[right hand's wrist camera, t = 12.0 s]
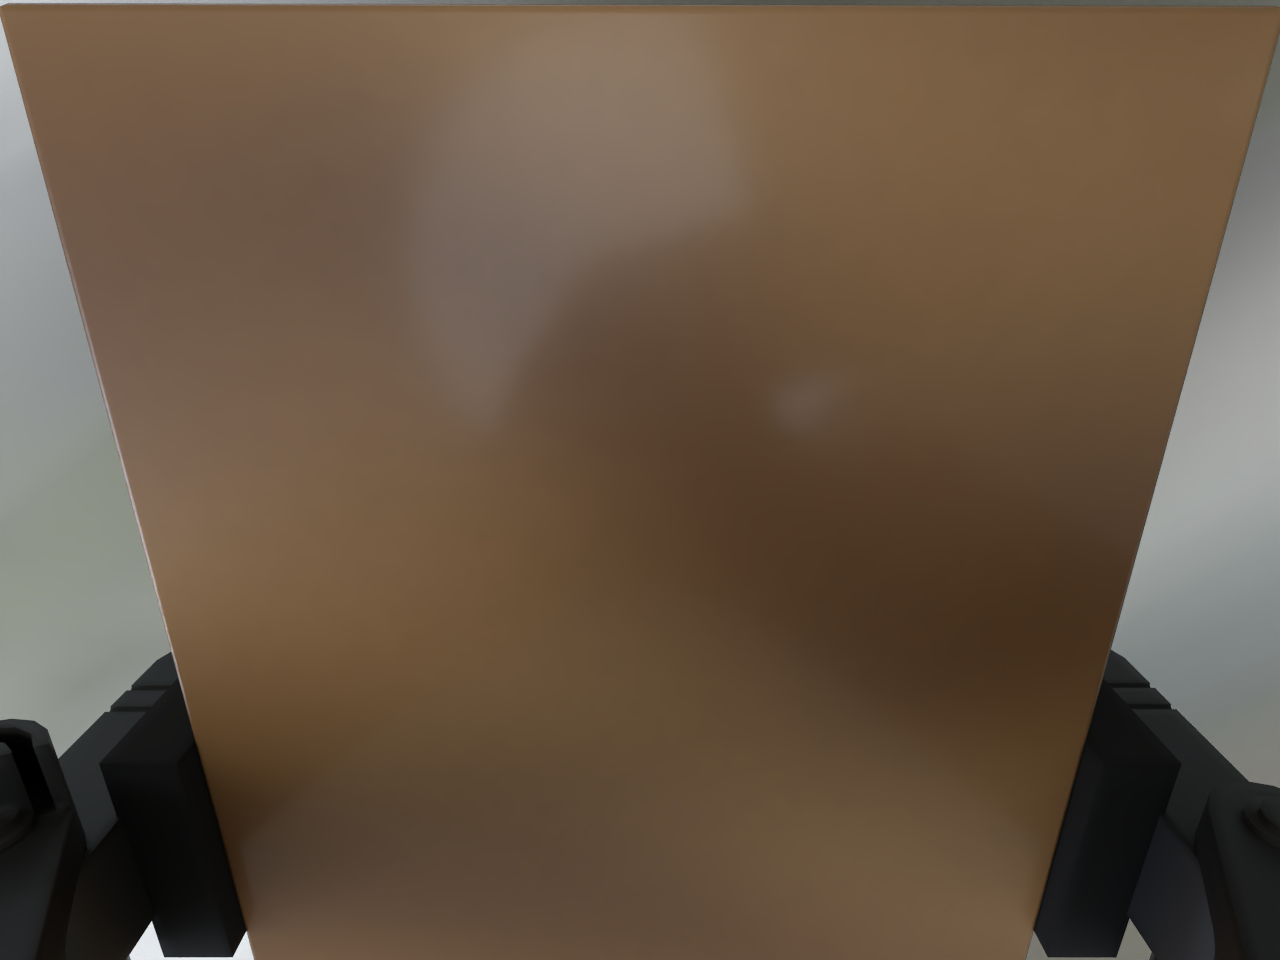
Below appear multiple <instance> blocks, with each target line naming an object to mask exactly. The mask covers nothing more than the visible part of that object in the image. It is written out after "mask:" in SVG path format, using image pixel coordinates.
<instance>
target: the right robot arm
mask: <svg viewBox="0 0 1280 960" xmlns="http://www.w3.org/2000/svg"><path fill="white" fill-rule="evenodd" d="M1129 918H1130V919H1131V921H1132V922H1133V924H1134V925H1135V927H1136V928H1137V930H1138V931H1139V933H1140V934H1141V936H1142V937H1143V939H1144V940H1145V942H1146V943H1147V945H1148V946H1149V948H1150V949H1151V951H1152V954H1151V956H1150V959H1149V960H1280V788H1278V787H1275V786H1271V785H1265V784H1259V783H1253V782H1249V781H1248V780H1247V779H1246V778H1245V777H1244V776H1243V775H1242V774H1241V773H1240V772H1239V771H1238V770H1237V769H1236V768H1235V767H1234V766H1233V765H1232V764H1231V763H1230V762H1229V761H1228V760H1227V759H1226V758H1225V757H1224V756H1223V755H1222V754H1221V753H1220V752H1219V751H1218V750H1217V749H1216V748H1215V747H1214V746H1213V745H1212V744H1211V743H1210V742H1209V741H1208V740H1207V739H1206V738H1205V737H1204V736H1203V735H1202V734H1201V733H1200V732H1199V731H1198V730H1197V729H1196V728H1195V727H1193V726H1192V725H1191V724H1190V723H1189V722H1188V721H1187V720H1186V719H1185V718H1184V717H1183V716H1182V715H1181V714H1180V713H1179V712H1178V711H1177V710H1176V709H1171V704H1170V703H1169V702H1168V701H1167V700H1166V699H1165V698H1164V697H1163V696H1162V695H1161V694H1160V693H1159V692H1158V691H1157V690H1156V689H1155V688H1150V683H1149V682H1148V681H1147V680H1146V679H1145V678H1144V677H1143V676H1142V675H1141V674H1140V673H1139V672H1138V671H1137V670H1136V669H1135V668H1134V667H1133V666H1132V665H1131V664H1130V663H1129V662H1128V661H1127V660H1126V659H1125V658H1124V657H1122V656H1120V655H1119V654H1117V653H1115V652H1114V651H1112V650H1110V654H1109V657H1108V661H1107V665H1106V668H1105V672H1104V676H1103V679H1102V683H1101V686H1100V690H1099V694H1098V697H1097V701H1096V705H1095V708H1094V712H1093V716H1092V719H1091V723H1090V727H1089V730H1088V734H1087V738H1086V741H1085V745H1084V748H1083V752H1082V756H1081V759H1080V763H1079V767H1078V770H1077V774H1076V778H1075V781H1074V785H1073V789H1072V792H1071V796H1070V800H1069V803H1068V807H1067V810H1066V814H1065V818H1064V821H1063V825H1062V829H1061V832H1060V836H1059V840H1058V843H1057V847H1056V851H1055V854H1054V858H1053V862H1052V865H1051V869H1050V873H1049V876H1048V880H1047V883H1046V887H1045V891H1044V894H1043V898H1042V902H1041V905H1040V909H1039V913H1038V916H1037V920H1036V924H1035V927H1034V931H1035V933H1036V935H1037V937H1038V939H1039V941H1040V943H1041V945H1042V947H1043V949H1044V951H1045V953H1046V954H1047V956H1048V957H1117V954H1118V951H1119V948H1120V945H1121V942H1122V939H1123V936H1124V933H1125V930H1126V927H1127V924H1128V921H1129ZM151 921H152V922H153V925H154V928H155V931H156V934H157V937H158V940H159V943H160V946H161V949H162V952H163V955H164V957H233V955H234V953H235V952H236V950H237V948H238V946H239V944H240V942H241V940H242V938H243V936H244V934H245V932H246V927H245V923H244V920H243V916H242V912H241V909H240V905H239V901H238V897H237V894H236V890H235V886H234V883H233V879H232V875H231V871H230V868H229V864H228V860H227V857H226V853H225V849H224V845H223V842H222V838H221V834H220V831H219V827H218V823H217V819H216V816H215V812H214V808H213V805H212V801H211V797H210V793H209V790H208V786H207V782H206V779H205V775H204V771H203V767H202V764H201V760H200V756H199V753H198V749H197V745H196V741H195V738H194V734H193V730H192V727H191V723H190V719H189V715H188V712H187V708H186V704H185V701H184V697H183V693H182V689H181V686H180V682H179V678H178V675H177V671H176V667H175V663H174V660H173V656H172V652H170V653H168V654H167V655H165V656H163V657H162V658H160V659H158V660H157V661H156V662H155V663H154V664H153V665H152V666H151V667H150V668H149V669H148V670H147V671H146V672H145V673H144V674H143V675H142V676H141V677H140V678H139V679H138V680H137V681H136V682H135V683H134V684H133V685H132V689H131V691H126V692H125V693H124V694H123V695H122V696H121V697H120V698H119V699H118V700H117V701H116V702H115V703H114V704H113V705H112V706H111V710H110V712H105V713H104V714H103V715H102V716H101V717H100V718H99V719H98V720H97V721H96V722H95V723H94V724H93V725H92V726H91V727H90V728H89V729H88V730H87V731H86V732H85V733H84V734H83V735H82V736H81V737H80V738H79V739H78V740H77V741H76V742H75V743H74V744H73V745H72V746H71V747H70V748H69V749H68V750H67V751H66V752H65V753H64V754H63V755H62V756H61V757H60V758H59V759H58V758H57V755H56V752H55V749H54V747H53V744H52V741H51V738H50V736H49V733H48V730H47V729H46V728H44V727H43V726H41V725H40V724H38V723H37V722H35V721H30V720H19V719H7V720H1V721H0V960H131V959H130V956H129V954H130V953H131V951H132V950H133V948H134V947H135V945H136V944H137V942H138V941H139V939H140V938H141V936H142V935H143V933H144V932H145V930H146V929H147V927H148V925H149V924H150V922H151Z"/></svg>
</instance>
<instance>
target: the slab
mask: <svg viewBox="0 0 1280 960" xmlns="http://www.w3.org/2000/svg"><path fill="white" fill-rule="evenodd" d="M0 17H1V20H2V24H3V28H4V32H5V35H6V39H7V43H8V46H9V50H10V54H11V58H12V61H13V65H14V69H15V72H16V76H17V80H18V84H19V87H20V91H21V95H22V98H23V102H24V106H25V110H26V113H27V117H28V121H29V124H30V128H31V132H32V136H33V139H34V143H35V147H36V150H37V154H38V158H39V162H40V165H41V169H42V173H43V177H44V180H45V184H46V188H47V191H48V195H49V199H50V203H51V206H52V210H53V214H54V217H55V221H56V225H57V229H58V232H59V236H60V240H61V243H62V247H63V251H64V255H65V258H66V262H67V266H68V269H69V273H70V277H71V281H72V284H73V288H74V292H75V295H76V299H77V303H78V307H79V310H80V314H81V318H82V321H83V325H84V329H85V333H86V336H87V340H88V344H89V347H90V351H91V355H92V359H93V362H94V366H95V370H96V373H97V377H98V381H99V385H100V388H101V392H102V396H103V399H104V403H105V407H106V411H107V414H108V418H109V422H110V426H111V429H112V433H113V437H114V440H115V444H116V448H117V452H118V455H119V459H120V463H121V466H122V470H123V474H124V478H125V481H126V485H127V489H128V492H129V496H130V500H131V504H132V507H133V511H134V515H135V518H136V522H137V526H138V530H139V533H140V537H141V541H142V544H143V548H144V552H145V556H146V559H147V563H148V567H149V570H150V574H151V578H152V582H153V585H154V589H155V593H156V596H157V600H158V604H159V608H160V611H161V615H162V619H163V622H164V626H165V630H166V634H167V637H168V641H169V645H170V648H171V652H172V656H173V660H174V663H175V667H176V671H177V675H178V678H179V682H180V686H181V689H182V693H183V697H184V701H185V704H186V708H187V712H188V715H189V719H190V723H191V727H192V730H193V734H194V738H195V741H196V745H197V749H198V753H199V756H200V760H201V764H202V767H203V771H204V775H205V779H206V782H207V786H208V790H209V793H210V797H211V801H212V805H213V808H214V812H215V816H216V819H217V823H218V827H219V831H220V834H221V838H222V842H223V845H224V849H225V853H226V857H227V860H228V864H229V868H230V871H231V875H232V879H233V883H234V886H235V890H236V894H237V897H238V901H239V905H240V909H241V912H242V916H243V920H244V923H245V927H246V931H247V935H248V938H249V942H250V946H251V950H252V953H253V957H254V960H1026V956H1027V953H1028V949H1029V945H1030V942H1031V938H1032V935H1033V931H1034V927H1035V924H1036V920H1037V916H1038V913H1039V909H1040V905H1041V902H1042V898H1043V894H1044V891H1045V887H1046V883H1047V880H1048V876H1049V873H1050V869H1051V865H1052V862H1053V858H1054V854H1055V851H1056V847H1057V843H1058V840H1059V836H1060V832H1061V829H1062V825H1063V821H1064V818H1065V814H1066V810H1067V807H1068V803H1069V800H1070V796H1071V792H1072V789H1073V785H1074V781H1075V778H1076V774H1077V770H1078V767H1079V763H1080V759H1081V756H1082V752H1083V748H1084V745H1085V741H1086V738H1087V734H1088V730H1089V727H1090V723H1091V719H1092V716H1093V712H1094V708H1095V705H1096V701H1097V697H1098V694H1099V690H1100V686H1101V683H1102V679H1103V676H1104V672H1105V668H1106V665H1107V661H1108V657H1109V654H1110V650H1111V646H1112V643H1113V639H1114V635H1115V632H1116V628H1117V624H1118V621H1119V617H1120V613H1121V610H1122V606H1123V603H1124V599H1125V595H1126V592H1127V588H1128V584H1129V581H1130V577H1131V573H1132V570H1133V566H1134V562H1135V559H1136V555H1137V551H1138V548H1139V544H1140V541H1141V537H1142V533H1143V530H1144V526H1145V522H1146V519H1147V515H1148V511H1149V508H1150V504H1151V500H1152V497H1153V493H1154V489H1155V486H1156V482H1157V478H1158V475H1159V471H1160V468H1161V464H1162V460H1163V457H1164V453H1165V449H1166V446H1167V442H1168V438H1169V435H1170V431H1171V427H1172V424H1173V420H1174V416H1175V413H1176V409H1177V406H1178V402H1179V398H1180V395H1181V391H1182V387H1183V384H1184V380H1185V376H1186V373H1187V369H1188V365H1189V362H1190V358H1191V354H1192V351H1193V347H1194V344H1195V340H1196V336H1197V333H1198V329H1199V325H1200V322H1201V318H1202V314H1203V311H1204V307H1205V303H1206V300H1207V296H1208V292H1209V289H1210V285H1211V281H1212V278H1213V274H1214V271H1215V267H1216V263H1217V260H1218V256H1219V252H1220V249H1221V245H1222V241H1223V238H1224V234H1225V230H1226V227H1227V223H1228V219H1229V216H1230V212H1231V209H1232V205H1233V201H1234V198H1235V194H1236V190H1237V187H1238V183H1239V179H1240V176H1241V172H1242V168H1243V165H1244V161H1245V157H1246V154H1247V150H1248V147H1249V143H1250V139H1251V136H1252V132H1253V128H1254V125H1255V121H1256V117H1257V114H1258V110H1259V106H1260V103H1261V99H1262V95H1263V92H1264V88H1265V84H1266V81H1267V77H1268V74H1269V70H1270V66H1271V63H1272V59H1273V55H1274V52H1275V48H1276V44H1277V41H1278V37H1279V33H1280V8H1279V7H1277V6H1085V5H632V4H178V3H8V4H5V5H3V6H0Z"/></svg>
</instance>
